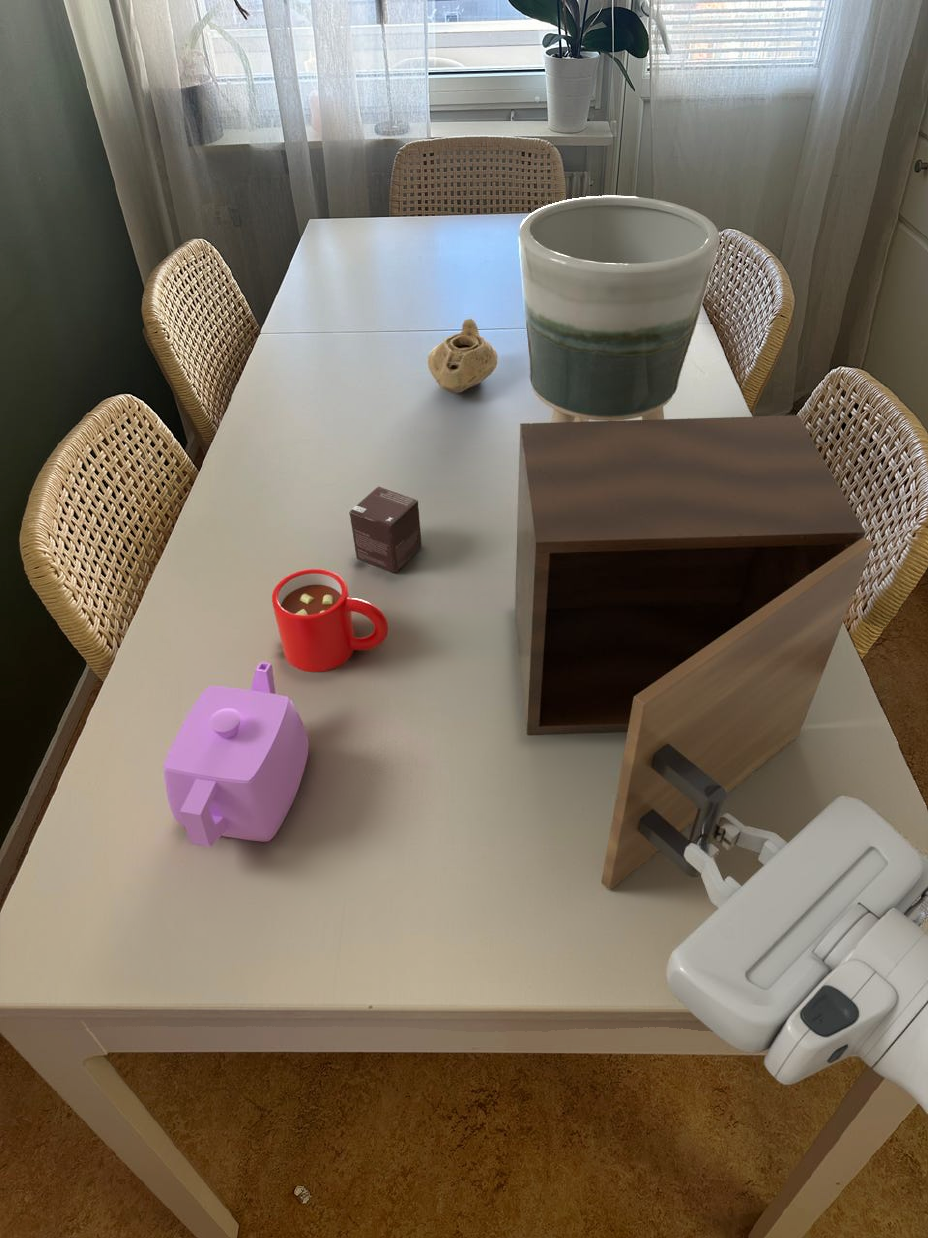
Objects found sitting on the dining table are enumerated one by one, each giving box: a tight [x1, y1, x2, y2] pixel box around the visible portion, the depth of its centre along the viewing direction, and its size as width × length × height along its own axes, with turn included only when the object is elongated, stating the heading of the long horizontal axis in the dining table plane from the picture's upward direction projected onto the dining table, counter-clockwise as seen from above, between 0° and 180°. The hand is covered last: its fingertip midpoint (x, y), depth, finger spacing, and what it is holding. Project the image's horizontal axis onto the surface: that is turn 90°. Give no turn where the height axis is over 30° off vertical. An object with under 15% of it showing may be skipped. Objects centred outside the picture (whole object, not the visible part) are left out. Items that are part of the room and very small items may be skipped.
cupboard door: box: [601, 536, 875, 891], centre depth 70 cm, size 7×26×24 cm, turn 129°
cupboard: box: [514, 414, 867, 736], centre depth 84 cm, size 18×26×24 cm
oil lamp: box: [427, 318, 498, 394], centre depth 135 cm, size 11×15×8 cm
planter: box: [518, 195, 721, 423], centre depth 106 cm, size 22×22×33 cm
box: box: [348, 485, 423, 574], centre depth 104 cm, size 6×6×7 cm
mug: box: [271, 568, 389, 673], centre depth 93 cm, size 8×12×8 cm, turn 83°
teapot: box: [163, 661, 310, 848], centre depth 79 cm, size 18×10×10 cm, turn 169°
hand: (704, 834), depth 63 cm, fingers closed on cupboard door, 2 cm apart
